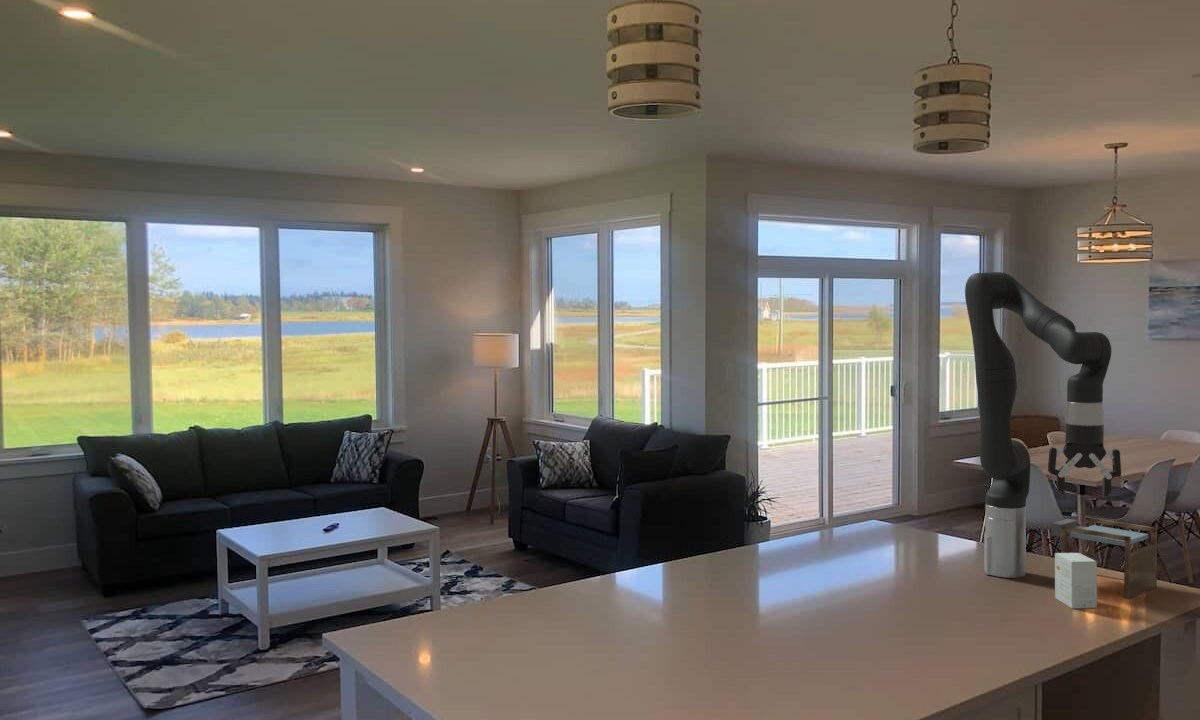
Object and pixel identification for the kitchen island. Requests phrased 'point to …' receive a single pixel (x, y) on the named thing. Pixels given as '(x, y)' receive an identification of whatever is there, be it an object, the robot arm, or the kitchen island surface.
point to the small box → (1076, 580)
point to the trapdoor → (1073, 523)
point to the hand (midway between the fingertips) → (1083, 494)
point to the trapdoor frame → (1126, 556)
